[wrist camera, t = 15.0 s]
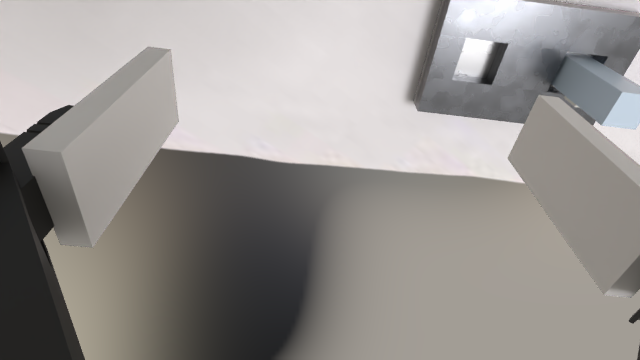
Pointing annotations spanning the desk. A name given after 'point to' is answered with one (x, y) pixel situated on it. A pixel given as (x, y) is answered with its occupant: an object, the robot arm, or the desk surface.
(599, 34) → the dark grey base plate
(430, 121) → the desk surface
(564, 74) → the pale blue rectangular prism
